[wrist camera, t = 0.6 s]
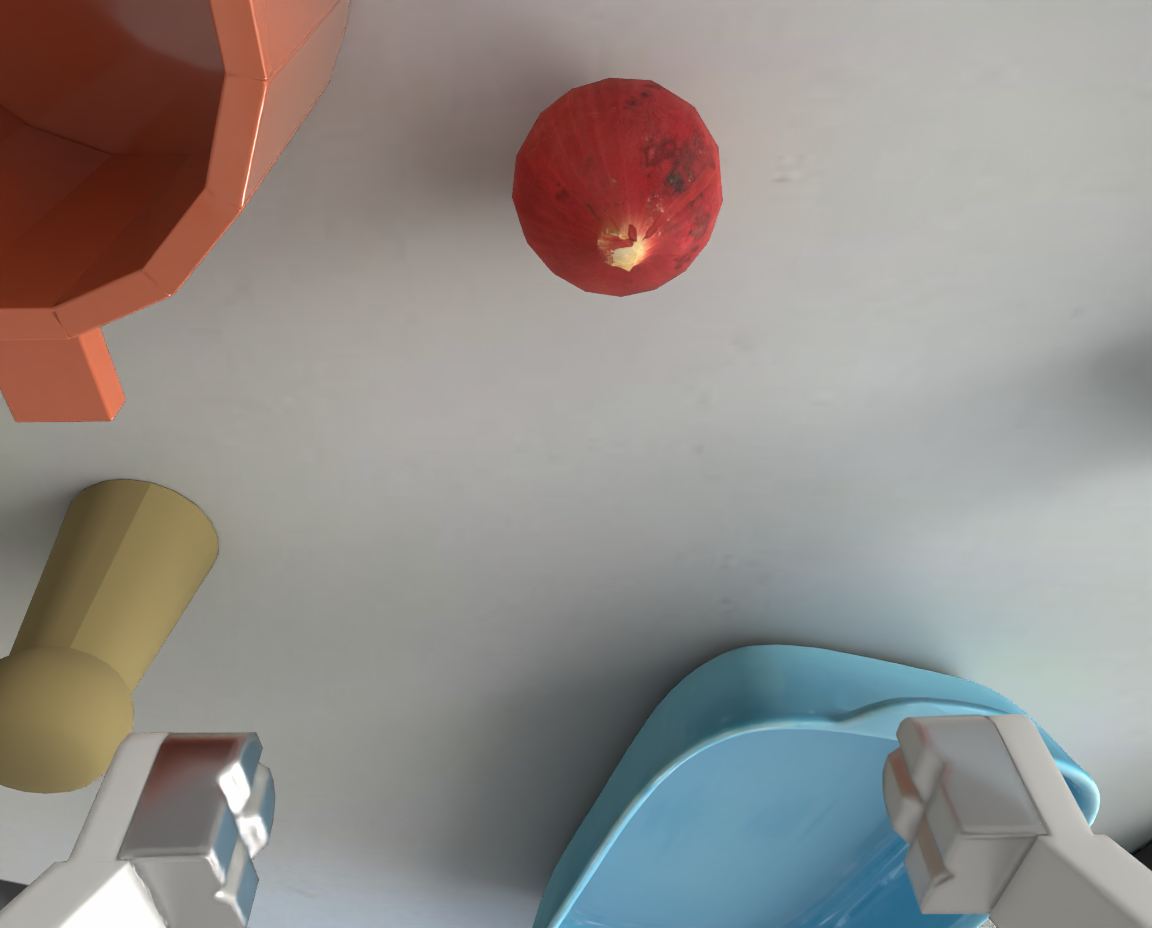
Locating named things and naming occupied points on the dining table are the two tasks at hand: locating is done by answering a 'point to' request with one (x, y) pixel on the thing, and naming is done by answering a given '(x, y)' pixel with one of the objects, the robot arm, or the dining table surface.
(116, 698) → the olive pawn piece
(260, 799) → the robot arm
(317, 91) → the pot
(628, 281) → the onion
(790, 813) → the casserole dish
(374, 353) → the dining table surface
